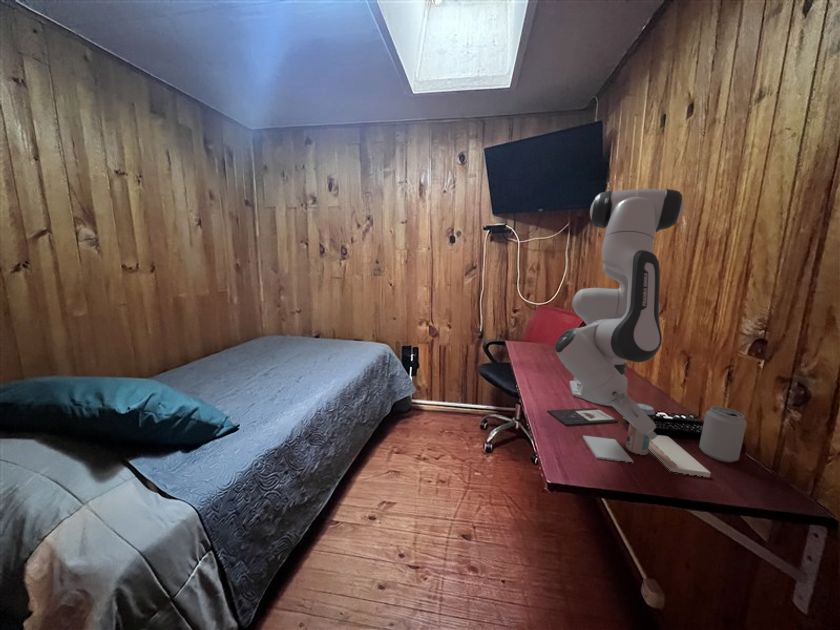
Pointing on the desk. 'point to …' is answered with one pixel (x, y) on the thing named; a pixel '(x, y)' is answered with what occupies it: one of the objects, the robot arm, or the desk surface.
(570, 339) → the robot arm
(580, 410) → the chocolate bar
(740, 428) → the can
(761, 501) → the desk surface
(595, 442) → the mat
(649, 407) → the jar with lid
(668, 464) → the board
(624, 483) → the desk surface
